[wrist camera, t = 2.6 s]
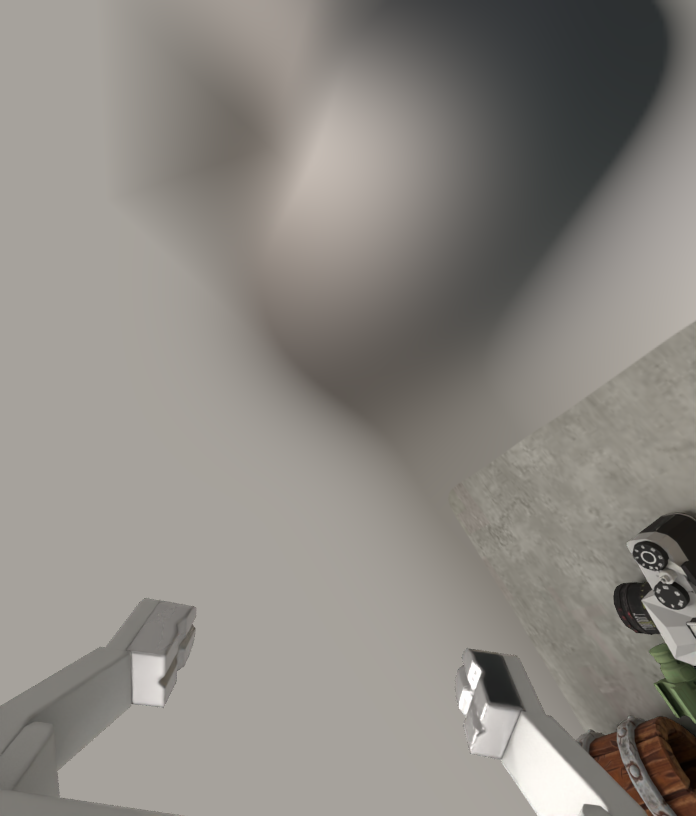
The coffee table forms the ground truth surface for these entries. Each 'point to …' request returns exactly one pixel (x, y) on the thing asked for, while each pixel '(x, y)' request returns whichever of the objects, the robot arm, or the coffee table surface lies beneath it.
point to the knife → (676, 682)
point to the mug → (649, 763)
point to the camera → (664, 585)
